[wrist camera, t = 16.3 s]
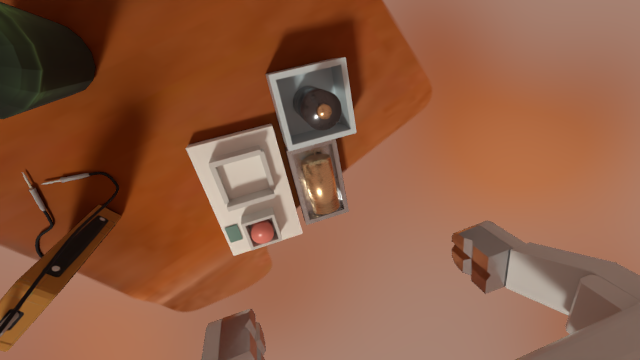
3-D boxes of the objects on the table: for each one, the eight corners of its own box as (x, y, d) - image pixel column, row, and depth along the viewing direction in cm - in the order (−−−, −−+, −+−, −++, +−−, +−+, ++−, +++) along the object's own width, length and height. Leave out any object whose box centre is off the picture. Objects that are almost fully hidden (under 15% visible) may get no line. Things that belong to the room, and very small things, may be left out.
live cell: (298, 158, 35) (303, 168, 31) (325, 151, 35) (334, 160, 32) (310, 207, 38) (317, 221, 35) (335, 199, 39) (344, 212, 35)
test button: (248, 221, 35) (248, 229, 33) (269, 215, 35) (270, 222, 33) (254, 238, 36) (255, 246, 34) (275, 231, 36) (276, 239, 35)
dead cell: (289, 89, 31) (301, 96, 24) (320, 82, 32) (340, 86, 25) (296, 121, 33) (309, 136, 26) (326, 113, 33) (346, 126, 27)
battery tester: (188, 144, 31) (182, 153, 28) (271, 123, 33) (273, 129, 30) (234, 249, 38) (233, 265, 35) (301, 227, 40) (305, 241, 36)
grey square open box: (265, 73, 30) (268, 75, 26) (332, 58, 32) (345, 57, 28) (283, 141, 34) (288, 151, 30) (344, 125, 35) (356, 132, 31)
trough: (284, 147, 34) (286, 151, 33) (331, 134, 35) (335, 137, 34) (304, 218, 39) (306, 225, 38) (344, 205, 40) (348, 211, 38)
